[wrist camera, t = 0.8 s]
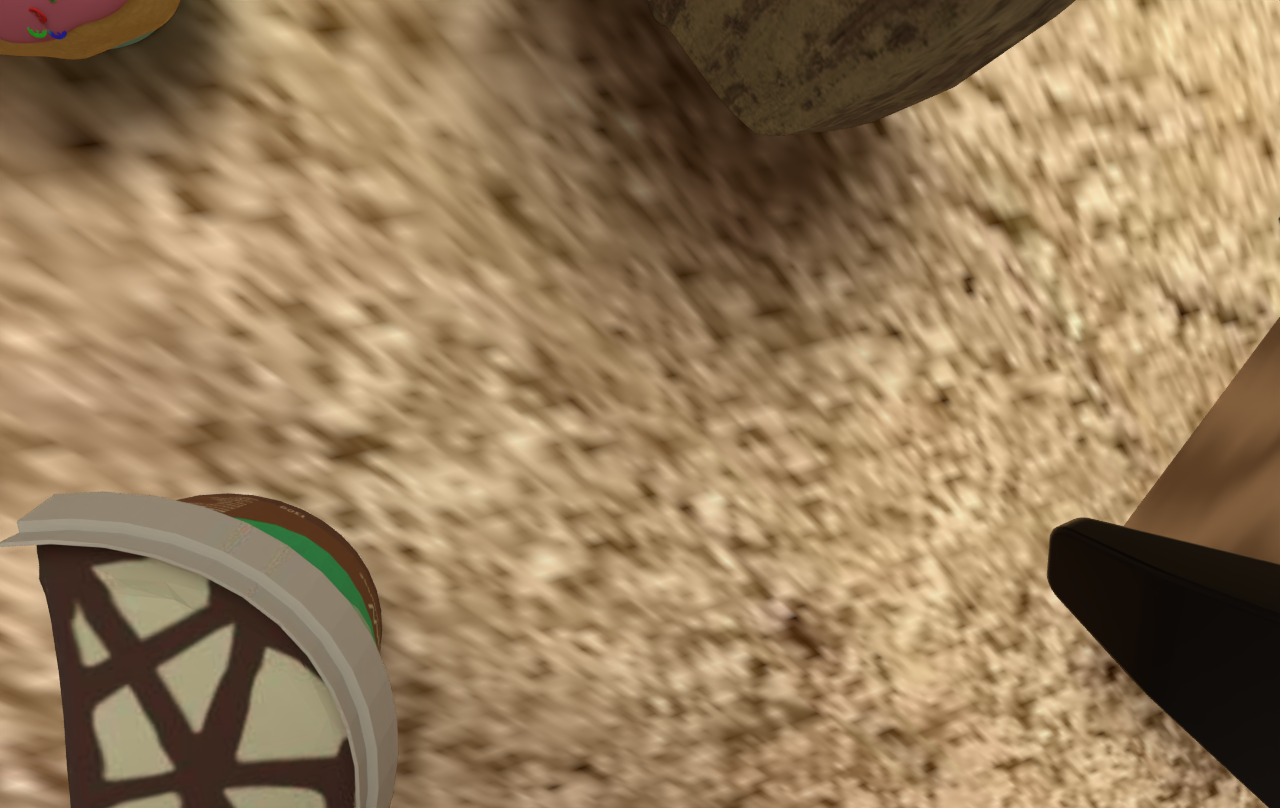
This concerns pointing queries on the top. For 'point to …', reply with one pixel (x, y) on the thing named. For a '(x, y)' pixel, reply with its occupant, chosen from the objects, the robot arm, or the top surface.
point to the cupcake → (78, 25)
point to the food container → (213, 654)
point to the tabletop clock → (842, 53)
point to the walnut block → (1227, 468)
